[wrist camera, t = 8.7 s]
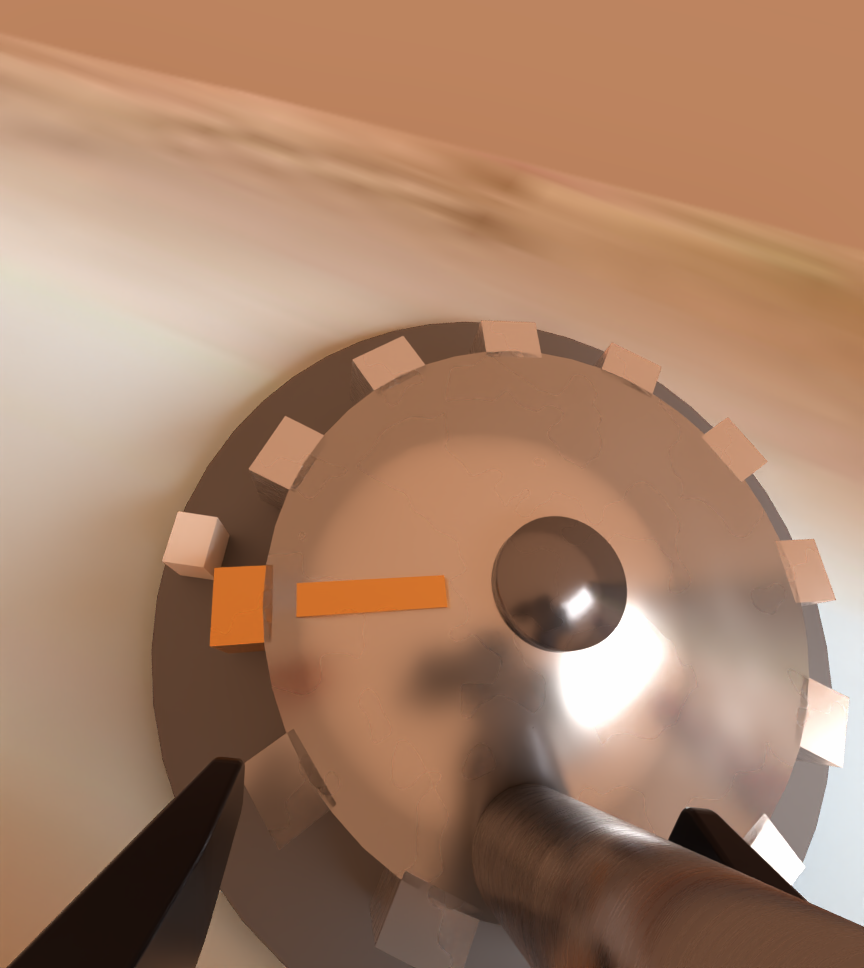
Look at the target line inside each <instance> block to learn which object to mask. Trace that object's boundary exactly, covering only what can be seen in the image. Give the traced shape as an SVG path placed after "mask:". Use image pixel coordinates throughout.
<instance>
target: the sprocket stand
mask: <svg viewBox="0 0 864 968" xmlns="http://www.w3.org/2000/svg"><path fill="white" fill-rule="evenodd" d="M479 325H480V323H476V322H457V323H443V324H429V325H424V326H418V327H413V328H408V329H402V330H397V331H393V332H390V333H386V334H383V335H380V336H377V337H373V338H370V339H367V340H364V341H361V342H358V343H356V344H354V345H352V346H349V347H347V348H345V349H343V350H340V351H338V352H336V353H334V354H332V355H329V356H327V357H325V358H324V359H322V360H320V361H319V362H317V363H315V364H314V365H312V366H310V367H309V368H307V369H306V370H304V371H302V372H301V373H299V374H297V375H296V376H294V377H293V378H291V379H290V380H289V381H288V382H286V383H285V384H284V385H283V386H281V387H280V388H279V389H278V390H276V391H275V392H274V393H273V394H271V395H270V396H269V397H268V398H266V399H265V400H264V401H263V402H262V403H261V404H260V405H259V406H258V407H257V408H256V409H255V410H254V411H253V412H252V413H251V414H250V415H249V416H248V417H247V418H246V419H245V420H244V421H243V422H242V423H241V424H240V425H239V426H238V427H237V428H236V430H235V431H234V432H233V433H232V434H231V436H230V437H229V438H228V440H227V441H226V442H225V444H224V445H223V447H222V448H221V449H220V451H219V452H218V453H217V455H216V456H215V457H214V459H213V460H212V461H211V463H210V464H209V465H208V467H207V469H206V471H205V472H204V474H203V476H202V478H201V480H200V481H199V483H198V485H197V487H196V489H195V491H194V492H193V494H192V496H191V498H190V500H189V501H188V503H187V505H186V507H185V510H184V512H180V511H178V513H177V516H176V519H175V522H174V525H173V528H172V531H171V535H170V538H169V541H168V544H167V547H166V550H165V553H164V556H163V560H162V562H163V563H165V568H164V572H163V576H162V580H161V584H160V588H159V592H158V596H157V604H156V614H155V623H154V633H153V642H152V675H153V705H154V711H155V716H156V722H157V728H158V734H159V740H160V746H161V751H162V757H163V762H164V765H165V768H166V771H167V774H168V777H169V780H170V784H171V787H172V790H173V793H174V796H175V797H176V796H177V795H178V794H179V793H180V792H181V791H182V790H183V789H184V788H185V787H186V786H187V785H188V784H189V783H190V782H191V781H192V780H193V779H194V778H195V777H196V776H197V775H198V774H199V773H200V772H201V771H202V770H203V768H204V767H205V766H206V765H207V764H208V763H209V762H210V761H212V760H213V759H214V758H216V757H230V758H239V759H242V760H243V761H244V763H245V762H247V761H248V760H249V759H251V758H252V757H253V756H255V755H256V754H258V753H259V752H260V751H262V750H263V749H265V748H266V747H267V746H269V745H270V744H272V743H273V742H274V741H276V740H277V739H278V738H280V737H281V736H283V735H284V734H285V733H286V730H285V727H284V724H283V721H282V718H281V715H280V712H279V709H278V705H277V702H276V699H275V696H274V693H273V690H272V686H271V680H270V674H269V669H268V663H267V657H266V652H265V651H255V652H242V653H229V654H228V653H226V652H223V651H220V650H218V649H215V648H212V647H210V631H211V615H212V598H213V582H214V568H220V567H241V566H262V565H266V563H267V558H268V554H269V550H270V546H271V541H272V537H273V533H274V529H275V525H276V522H277V520H278V517H279V514H280V512H281V509H279V508H277V507H275V506H273V505H271V504H269V503H267V502H265V501H263V500H261V499H260V497H259V495H258V492H257V490H256V487H255V485H254V482H253V480H252V477H251V475H250V472H249V470H248V469H249V468H250V466H251V465H252V463H253V462H254V460H255V459H256V457H257V456H258V455H259V453H260V452H261V450H262V449H263V447H264V446H265V444H266V443H267V442H268V440H269V439H270V437H271V436H272V434H273V433H274V431H275V430H276V429H277V427H278V426H279V424H280V423H281V421H282V420H283V418H284V417H285V416H287V417H289V418H291V419H293V420H295V421H297V422H299V423H301V424H303V425H305V426H307V427H309V428H311V429H313V430H315V431H317V432H319V433H321V434H323V435H325V433H326V432H327V431H328V430H329V429H330V428H331V427H332V426H333V425H334V424H335V423H336V422H337V421H338V420H339V419H340V418H341V417H342V416H343V415H344V414H345V413H346V412H347V411H348V410H349V409H351V408H352V407H353V406H354V404H353V403H352V401H351V400H350V396H351V374H352V359H355V358H357V357H359V356H361V355H363V354H365V353H367V352H369V351H372V350H374V349H376V348H378V347H380V346H382V345H384V344H387V343H389V342H391V341H393V340H395V339H397V338H399V337H402V336H404V337H405V339H406V340H407V341H408V343H409V344H410V345H411V347H412V348H413V349H414V351H415V352H416V353H417V355H418V356H419V357H420V359H421V360H422V361H423V362H424V364H425V365H426V364H430V363H433V362H437V361H440V360H444V359H447V358H451V357H455V356H461V355H467V354H469V351H470V349H471V346H472V344H473V341H474V338H475V336H476V333H477V331H478V328H479ZM537 334H538V339H539V345H540V350H541V353H542V354H548V355H553V356H558V357H563V358H568V359H572V360H576V361H579V362H582V363H585V364H588V365H592V366H594V365H595V363H596V362H597V361H598V360H599V358H600V357H601V356H602V354H603V353H604V352H603V351H601V350H599V349H596V348H594V347H591V346H588V345H586V344H583V343H580V342H578V341H575V340H573V339H570V338H567V337H563V336H559V335H556V334H552V333H548V332H544V331H540V330H537ZM653 394H654V395H655V396H657V397H658V398H659V399H661V400H662V401H664V402H665V403H667V404H668V405H670V406H671V407H672V408H674V409H675V410H677V411H678V412H680V413H681V414H682V415H683V416H684V417H685V418H687V419H688V420H689V421H690V422H691V423H693V424H694V425H695V426H696V427H697V428H698V429H700V430H701V431H702V432H703V433H704V434H705V433H706V432H708V431H709V430H711V429H712V428H713V427H712V426H711V425H710V424H709V423H708V422H707V421H706V420H705V419H703V418H702V417H701V416H700V415H699V414H698V413H697V412H696V411H695V410H694V409H693V408H692V407H691V406H689V405H688V404H687V403H685V402H684V401H683V400H681V399H680V398H679V397H678V396H676V395H675V394H674V393H672V392H671V391H670V390H669V389H667V388H666V387H665V386H663V385H662V384H660V383H659V382H656V385H655V388H654V391H653ZM745 481H746V482H747V484H748V485H749V487H750V488H751V490H752V491H753V493H754V495H755V496H756V498H757V499H758V501H759V502H760V504H761V505H762V507H763V508H764V510H765V512H766V514H767V516H768V518H769V520H770V522H771V524H772V526H773V528H774V530H775V532H776V533H777V535H778V537H779V539H780V541H784V540H792V538H791V536H790V534H789V532H788V529H787V527H786V526H785V524H784V522H783V520H782V519H781V517H780V515H779V514H778V512H777V510H776V508H775V507H774V505H773V503H772V502H771V500H770V498H769V496H768V495H767V493H766V492H765V490H764V489H763V487H762V486H761V485H760V483H759V482H758V480H757V479H756V478H755V476H754V475H753V474H751V475H750V476H749V477H747V478H746V479H745ZM802 612H803V618H804V624H805V630H806V636H807V646H808V665H809V678H811V679H813V680H815V681H817V682H819V683H821V684H823V685H825V686H827V687H829V688H831V689H832V687H831V678H830V670H829V661H828V653H827V645H826V641H825V637H824V632H823V628H822V624H821V619H820V615H819V610H818V606H817V604H812V605H807V606H802ZM828 769H829V766H827V765H821V764H814V763H807V762H800V761H795V764H794V767H793V770H792V773H791V776H790V778H789V781H788V784H787V786H786V788H785V790H784V792H783V794H782V796H781V798H780V800H779V802H778V804H777V806H776V808H775V810H774V812H773V814H772V816H771V818H770V819H769V820H770V821H771V823H772V824H773V825H774V826H775V828H776V829H777V830H778V832H779V833H780V834H781V836H782V837H783V838H784V840H785V841H786V842H787V844H788V845H789V846H790V848H791V849H792V850H793V852H794V853H795V854H796V856H797V857H798V858H799V860H800V861H801V862H802V863H803V860H804V858H805V855H806V852H807V850H808V847H809V845H810V842H811V840H812V837H813V834H814V832H815V829H816V826H817V822H818V817H819V813H820V809H821V805H822V801H823V797H824V792H825V788H826V784H827V778H828ZM383 869H384V865H383V864H382V863H381V862H379V861H378V860H377V859H376V858H375V857H373V856H372V855H371V854H370V853H369V852H368V851H366V850H365V849H364V848H363V847H362V846H361V845H360V844H359V843H358V841H357V840H356V839H355V838H354V837H353V836H352V835H351V834H350V832H349V831H348V830H347V829H346V828H345V827H344V826H343V824H342V823H341V822H340V821H339V820H338V819H337V818H336V817H335V815H334V814H333V813H332V812H331V810H329V811H328V812H326V813H325V814H324V815H323V816H321V817H320V818H319V819H318V820H316V821H315V822H314V823H313V824H311V825H310V826H309V827H308V828H306V829H305V830H304V831H303V832H301V833H300V834H299V835H298V836H296V837H295V838H294V839H293V840H291V841H290V842H289V843H288V844H286V845H285V846H284V847H282V848H281V849H280V850H279V849H278V847H277V845H276V843H275V841H274V840H273V838H272V836H271V834H270V832H269V830H268V828H267V826H266V825H265V823H264V821H263V819H262V817H261V815H260V813H259V811H258V810H257V808H256V806H255V804H254V802H253V800H252V798H251V796H250V795H249V793H248V791H247V789H246V787H245V785H244V795H243V805H242V810H241V814H240V818H239V822H238V825H237V829H236V833H235V836H234V840H233V843H232V847H231V850H230V854H229V857H228V861H227V865H226V868H225V872H224V875H223V879H222V882H221V886H220V889H221V891H222V892H223V894H224V895H225V896H226V898H227V899H228V901H229V902H230V904H231V905H232V907H233V908H234V910H235V911H236V912H237V914H238V915H239V917H240V918H241V920H242V921H243V922H244V923H245V924H246V925H247V926H248V927H249V928H250V929H251V931H252V932H253V933H254V934H255V935H256V936H257V937H258V938H259V939H260V940H261V941H262V942H263V943H264V944H265V945H266V946H267V947H268V949H269V950H270V951H271V952H272V953H273V954H274V955H275V956H276V957H277V958H278V959H279V960H280V961H281V962H282V963H283V964H284V965H285V966H286V967H287V968H415V967H413V966H411V965H409V964H407V963H405V962H403V961H401V960H399V959H397V958H396V957H394V956H392V955H390V954H388V953H386V952H384V951H382V950H380V949H378V948H376V947H375V942H374V935H373V929H372V922H371V916H370V909H369V903H370V901H371V898H372V896H373V893H374V891H375V889H376V886H377V884H378V881H379V879H380V876H381V874H382V871H383ZM791 886H792V885H791ZM464 968H531V967H530V965H529V964H528V962H527V961H526V960H525V958H524V957H523V955H522V954H521V953H520V951H519V950H518V948H517V947H516V945H515V944H514V943H513V941H512V940H511V938H510V937H509V936H508V934H507V933H506V931H505V930H504V929H503V927H502V926H501V925H497V924H493V923H489V922H484V921H481V920H480V921H479V924H478V927H477V930H476V933H475V936H474V939H473V942H472V945H471V948H470V951H469V954H468V957H467V960H466V963H465V966H464Z"/></svg>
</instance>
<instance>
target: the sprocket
mask: <svg viewBox="0 0 864 968" xmlns="http://www.w3.org/2000/svg"><path fill="white" fill-rule="evenodd" d="M660 370H661V366H659V365H657V364H655V363H653V362H651V361H649V360H647V359H644V358H642V357H640V356H638V355H636V354H634V353H632V352H630V351H628V350H626V349H624V348H622V347H620V346H618V345H616V344H614V343H611V344H610V346H609V347H608V348H607V349H606V351H605V352H604V353H603V354H602V356H601V357H600V358H599V360H598V361H597V362H596V363H595V365H594V366H592V365H588V364H585V363H582V362H579V361H576V360H572V359H568V358H563V357H558V356H553V355H548V354H542V353H541V350H540V345H539V339H538V334H537V329H536V324H535V323H534V322H508V321H483V320H481V323H480V325H479V328H478V331H477V333H476V336H475V338H474V341H473V344H472V346H471V349H470V351H469V354H467V355H461V356H455V357H451V358H447V359H444V360H440V361H437V362H433V363H430V364H426V365H425V364H424V362H423V361H422V360H421V359H420V357H419V356H418V355H417V353H416V352H415V351H414V349H413V348H412V347H411V345H410V344H409V343H408V341H407V340H406V339H405V337H404V336H402V337H399V338H397V339H395V340H393V341H391V342H389V343H387V344H384V345H382V346H380V347H378V348H376V349H374V350H372V351H369V352H367V353H365V354H363V355H361V356H359V357H357V358H355V359H352V374H351V396H350V400H351V401H352V403H353V404H354V406H353V407H352V408H351V409H349V410H348V411H347V412H346V413H345V414H344V415H343V416H342V417H341V418H340V419H339V420H338V421H337V422H336V423H335V424H334V425H333V426H332V427H331V428H330V429H329V430H328V431H327V432H326V433H325V435H323V434H321V433H319V432H317V431H315V430H313V429H311V428H309V427H307V426H305V425H303V424H301V423H299V422H297V421H295V420H293V419H291V418H289V417H287V416H285V417H284V418H283V420H282V421H281V423H280V424H279V426H278V427H277V429H276V430H275V431H274V433H273V434H272V436H271V437H270V439H269V440H268V442H267V443H266V444H265V446H264V447H263V449H262V450H261V452H260V453H259V455H258V456H257V457H256V459H255V460H254V462H253V463H252V465H251V466H250V468H249V469H248V470H249V472H250V475H251V477H252V480H253V482H254V485H255V487H256V490H257V492H258V495H259V497H260V499H261V500H263V501H265V502H267V503H269V504H271V505H273V506H275V507H277V508H279V509H281V512H280V514H279V517H278V520H277V522H276V525H275V529H274V533H273V537H272V541H271V546H270V550H269V554H268V558H267V563H266V565H262V566H241V567H220V568H214V582H213V598H212V615H211V631H210V647H212V648H215V649H218V650H220V651H223V652H226V653H228V654H229V653H242V652H255V651H265V652H266V657H267V663H268V669H269V674H270V680H271V686H272V690H273V693H274V696H275V699H276V702H277V705H278V709H279V712H280V715H281V718H282V721H283V724H284V727H285V730H286V733H285V734H284V735H283V736H281V737H280V738H278V739H277V740H276V741H274V742H273V743H272V744H270V745H269V746H267V747H266V748H265V749H263V750H262V751H260V752H259V753H258V754H256V755H255V756H253V757H252V758H251V759H249V760H248V761H247V762H245V776H244V785H245V787H246V789H247V791H248V793H249V795H250V796H251V798H252V800H253V802H254V804H255V806H256V808H257V810H258V811H259V813H260V815H261V817H262V819H263V821H264V823H265V825H266V826H267V828H268V830H269V832H270V834H271V836H272V838H273V840H274V841H275V843H276V845H277V847H278V849H279V850H280V849H281V848H282V847H284V846H285V845H286V844H288V843H289V842H290V841H291V840H293V839H294V838H295V837H296V836H298V835H299V834H300V833H301V832H303V831H304V830H305V829H306V828H308V827H309V826H310V825H311V824H313V823H314V822H315V821H316V820H318V819H319V818H320V817H321V816H323V815H324V814H325V813H326V812H328V811H329V810H331V812H332V813H333V814H334V815H335V817H336V818H337V819H338V820H339V821H340V822H341V823H342V824H343V826H344V827H345V828H346V829H347V830H348V831H349V832H350V834H351V835H352V836H353V837H354V838H355V839H356V840H357V841H358V843H359V844H360V845H361V846H362V847H363V848H364V849H365V850H366V851H368V852H369V853H370V854H371V855H372V856H373V857H375V858H376V859H377V860H378V861H379V862H381V863H382V864H383V865H384V869H383V871H382V874H381V876H380V879H379V881H378V884H377V886H376V889H375V891H374V893H373V896H372V898H371V901H370V903H369V909H370V916H371V922H372V929H373V935H374V942H375V947H376V948H378V949H380V950H382V951H384V952H386V953H388V954H390V955H392V956H394V957H396V958H397V959H399V960H401V961H403V962H405V963H407V964H409V965H411V966H413V967H415V968H464V966H465V963H466V960H467V957H468V954H469V951H470V948H471V945H472V942H473V939H474V936H475V933H476V930H477V927H478V924H479V921H480V920H481V921H484V922H489V923H493V924H497V925H501V926H502V927H503V929H504V930H505V931H506V933H507V934H508V936H509V937H510V938H511V940H512V941H513V943H514V944H515V945H516V947H517V948H518V950H519V951H520V953H521V954H522V955H523V957H524V958H525V960H526V961H527V962H528V964H529V965H530V967H531V968H864V927H863V926H861V925H859V924H856V923H854V922H852V921H850V920H847V919H845V918H843V917H841V916H838V915H836V914H834V913H832V912H829V911H827V910H825V909H822V908H820V907H818V906H816V905H813V904H811V903H809V902H807V901H804V900H802V899H800V898H798V897H795V896H793V895H791V894H789V893H786V892H784V891H782V890H779V889H777V888H775V887H773V886H770V885H768V884H766V883H764V882H761V881H759V880H757V879H755V878H752V877H750V876H748V875H746V874H743V873H741V872H739V871H737V870H734V869H732V868H730V867H727V866H725V865H723V864H721V863H718V862H716V861H714V860H712V859H709V858H707V857H705V856H703V855H700V854H698V853H696V852H694V851H691V850H689V849H687V848H684V847H682V846H680V845H678V844H675V843H673V842H671V841H669V840H668V838H669V836H670V834H671V832H672V830H673V827H674V825H675V823H676V821H677V819H678V817H679V815H680V813H681V811H682V810H683V809H684V808H686V807H696V808H705V809H710V810H712V811H714V812H715V813H717V814H718V815H719V816H720V817H721V818H722V819H723V820H724V821H725V822H726V823H727V824H728V825H729V826H730V827H731V828H733V829H734V830H735V831H736V832H737V833H738V834H739V835H740V836H741V837H742V838H743V839H744V840H745V841H746V842H747V843H748V844H749V845H750V846H751V847H752V848H753V849H754V850H755V851H756V852H757V853H758V854H759V855H760V856H761V857H762V858H763V859H764V860H765V861H767V862H768V863H769V864H770V865H771V866H772V867H773V868H774V869H775V870H776V871H777V872H778V873H779V874H780V875H781V876H782V877H783V878H784V879H785V880H786V881H787V882H788V883H789V884H790V885H792V884H793V882H794V881H795V880H796V878H797V877H798V876H799V875H800V873H801V872H802V871H803V869H804V868H805V866H804V865H803V863H802V862H801V861H800V860H799V858H798V857H797V856H796V854H795V853H794V852H793V850H792V849H791V848H790V846H789V845H788V844H787V842H786V841H785V840H784V838H783V837H782V836H781V834H780V833H779V832H778V830H777V829H776V828H775V826H774V825H773V824H772V823H771V821H770V820H769V819H770V818H771V816H772V814H773V812H774V810H775V808H776V806H777V804H778V802H779V800H780V798H781V796H782V794H783V792H784V790H785V788H786V786H787V784H788V781H789V778H790V776H791V773H792V770H793V767H794V764H795V761H800V762H807V763H814V764H821V765H827V766H834V767H841V768H843V757H844V747H845V736H846V726H847V716H848V705H849V697H847V696H845V695H843V694H841V693H839V692H837V691H835V690H833V689H831V688H829V687H827V686H825V685H823V684H821V683H819V682H817V681H815V680H813V679H811V678H809V665H808V646H807V636H806V630H805V624H804V618H803V612H802V606H807V605H812V604H817V603H822V602H828V601H833V600H836V599H835V596H834V593H833V590H832V588H831V585H830V582H829V579H828V576H827V574H826V571H825V568H824V565H823V563H822V560H821V557H820V554H819V551H818V549H817V546H816V543H815V540H814V539H805V540H784V541H780V539H779V537H778V535H777V533H776V532H775V530H774V528H773V526H772V524H771V522H770V520H769V518H768V516H767V514H766V512H765V510H764V508H763V507H762V505H761V504H760V502H759V501H758V499H757V498H756V496H755V495H754V493H753V491H752V490H751V488H750V487H749V485H748V484H747V482H746V481H745V479H746V478H747V477H749V476H750V475H751V474H752V473H754V472H755V471H756V470H757V469H759V468H760V467H761V466H762V465H764V464H765V463H766V462H767V460H766V459H765V458H764V457H763V456H762V455H761V454H760V453H759V452H758V450H757V449H756V448H755V447H754V446H753V445H752V444H751V443H750V442H749V440H748V439H747V438H746V437H745V436H744V435H743V434H742V433H741V431H740V430H739V429H738V428H737V427H736V426H735V425H734V424H733V423H732V421H731V420H730V419H729V418H726V419H725V420H723V421H722V422H721V423H719V424H718V425H716V426H715V427H714V428H712V429H711V430H709V431H708V432H706V433H705V434H704V433H703V432H702V431H701V430H700V429H698V428H697V427H696V426H695V425H694V424H693V423H691V422H690V421H689V420H688V419H687V418H685V417H684V416H683V415H682V414H681V413H680V412H678V411H677V410H675V409H674V408H672V407H671V406H670V405H668V404H667V403H665V402H664V401H662V400H661V399H659V398H658V397H657V396H655V395H654V394H653V391H654V388H655V385H656V382H657V379H658V376H659V373H660Z"/></svg>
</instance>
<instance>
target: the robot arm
mask: <svg viewBox="0 0 864 968" xmlns="http://www.w3.org/2000/svg"><path fill="white" fill-rule="evenodd" d="M244 776H245V763H244V761H243V760H242V759H239V758H230V757H216V758H214V759H213V760H212V761H210V762H209V763H208V764H207V765H206V766H205V767H204V768H203V770H202V771H201V772H200V773H199V774H198V775H197V776H196V777H195V778H194V779H193V780H192V781H191V782H190V783H189V784H188V785H187V786H186V787H185V788H184V789H183V790H182V791H181V792H180V793H179V794H178V795H177V796H176V797H175V798H174V799H173V800H172V801H171V802H170V803H169V804H168V805H167V806H166V807H165V808H164V809H163V810H162V811H161V812H160V813H159V814H158V815H157V816H156V817H155V818H154V819H153V820H152V821H151V822H150V823H149V824H148V825H147V826H146V827H145V828H144V829H143V830H142V831H141V832H140V833H139V834H138V835H137V836H136V837H135V838H134V839H133V840H132V841H131V842H130V843H129V844H128V845H127V846H126V847H125V848H124V849H123V850H122V851H121V852H120V853H119V854H118V855H117V856H116V857H115V858H114V859H113V861H112V862H111V863H110V864H109V865H108V866H107V867H106V868H105V869H104V870H103V871H102V872H101V873H100V874H99V875H98V876H97V877H96V878H95V879H94V880H93V881H92V882H91V883H90V884H89V885H88V886H87V887H86V888H85V889H84V890H83V891H82V892H81V893H80V894H79V895H78V896H77V897H76V898H75V899H74V900H73V901H72V902H71V903H70V904H69V905H68V906H67V907H66V908H65V909H64V910H63V911H62V912H61V913H60V914H59V915H58V916H57V917H56V918H55V919H54V920H53V921H52V922H51V923H50V924H49V925H48V926H47V927H46V928H45V929H44V930H43V931H42V932H41V933H40V934H39V935H38V936H37V937H36V938H35V939H34V940H33V941H32V942H31V943H30V944H29V945H28V946H27V947H26V948H25V949H24V951H23V952H22V953H21V954H20V955H19V956H18V957H17V958H16V959H15V960H14V961H13V962H12V963H11V964H10V965H9V966H8V967H7V968H195V967H196V964H197V961H198V958H199V955H200V953H201V950H202V947H203V944H204V941H205V938H206V934H207V931H208V928H209V925H210V921H211V918H212V914H213V911H214V907H215V904H216V900H217V897H218V893H219V889H220V886H221V882H222V879H223V875H224V872H225V868H226V865H227V861H228V857H229V854H230V850H231V847H232V843H233V840H234V836H235V833H236V829H237V825H238V822H239V818H240V814H241V810H242V805H243V795H244ZM668 840H669V841H671V842H673V843H675V844H678V845H680V846H682V847H684V848H687V849H689V850H691V851H694V852H696V853H698V854H700V855H703V856H705V857H707V858H709V859H712V860H714V861H716V862H718V863H721V864H723V865H725V866H727V867H730V868H732V869H734V870H737V871H739V872H741V873H743V874H746V875H748V876H750V877H752V878H755V879H757V880H759V881H761V882H764V883H766V884H768V885H770V886H773V887H775V888H777V889H779V890H782V891H784V892H786V893H789V894H791V895H793V896H795V897H798V898H800V899H802V900H804V901H807V900H806V899H805V898H804V897H803V896H802V895H801V894H800V893H798V892H797V891H796V890H795V889H794V888H793V887H792V886H791V885H790V884H789V883H788V882H787V881H786V880H785V879H784V878H783V877H782V876H781V875H780V874H779V873H778V872H777V871H776V870H775V869H774V868H773V867H772V866H771V865H770V864H769V863H768V862H767V861H765V860H764V859H763V858H762V857H761V856H760V855H759V854H758V853H757V852H756V851H755V850H754V849H753V848H752V847H751V846H750V845H749V844H748V843H747V842H746V841H745V840H744V839H743V838H742V837H741V836H740V835H739V834H738V833H737V832H736V831H735V830H734V829H733V828H731V827H730V826H729V825H728V824H727V823H726V822H725V821H724V820H723V819H722V818H721V817H720V816H719V815H718V814H717V813H715V812H714V811H712V810H710V809H705V808H696V807H686V808H684V809H683V810H682V811H681V813H680V815H679V817H678V819H677V821H676V823H675V825H674V827H673V830H672V832H671V834H670V836H669V838H668ZM807 902H808V901H807Z"/></svg>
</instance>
